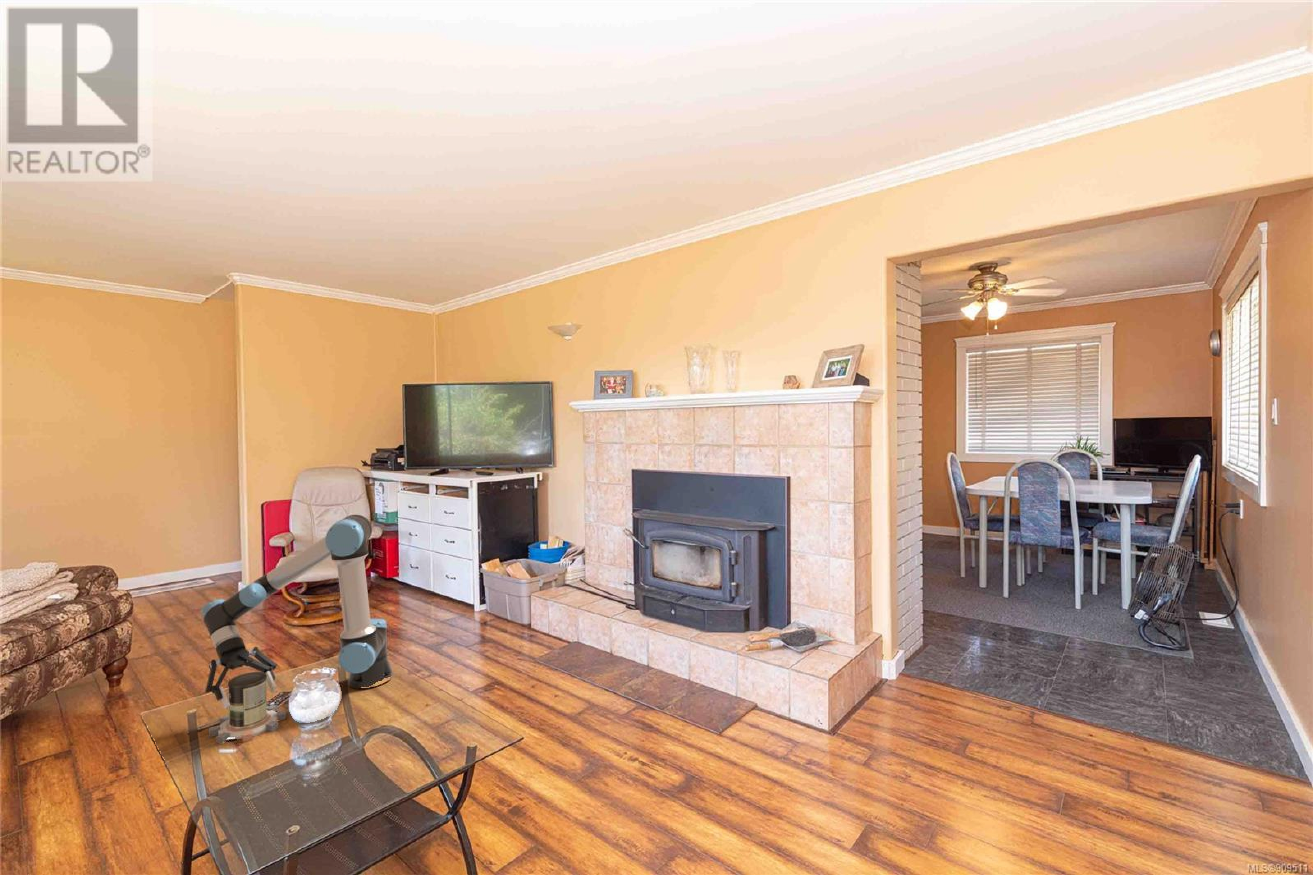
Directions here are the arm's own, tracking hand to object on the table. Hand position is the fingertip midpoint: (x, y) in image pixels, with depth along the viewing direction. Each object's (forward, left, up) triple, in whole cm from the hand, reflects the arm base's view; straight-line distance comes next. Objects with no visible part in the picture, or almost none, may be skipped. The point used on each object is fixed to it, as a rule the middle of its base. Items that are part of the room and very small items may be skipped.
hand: (251, 698), depth 192 cm
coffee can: (-2, -1, -8) cm, 9 cm away
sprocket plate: (-2, -1, -10) cm, 10 cm away
